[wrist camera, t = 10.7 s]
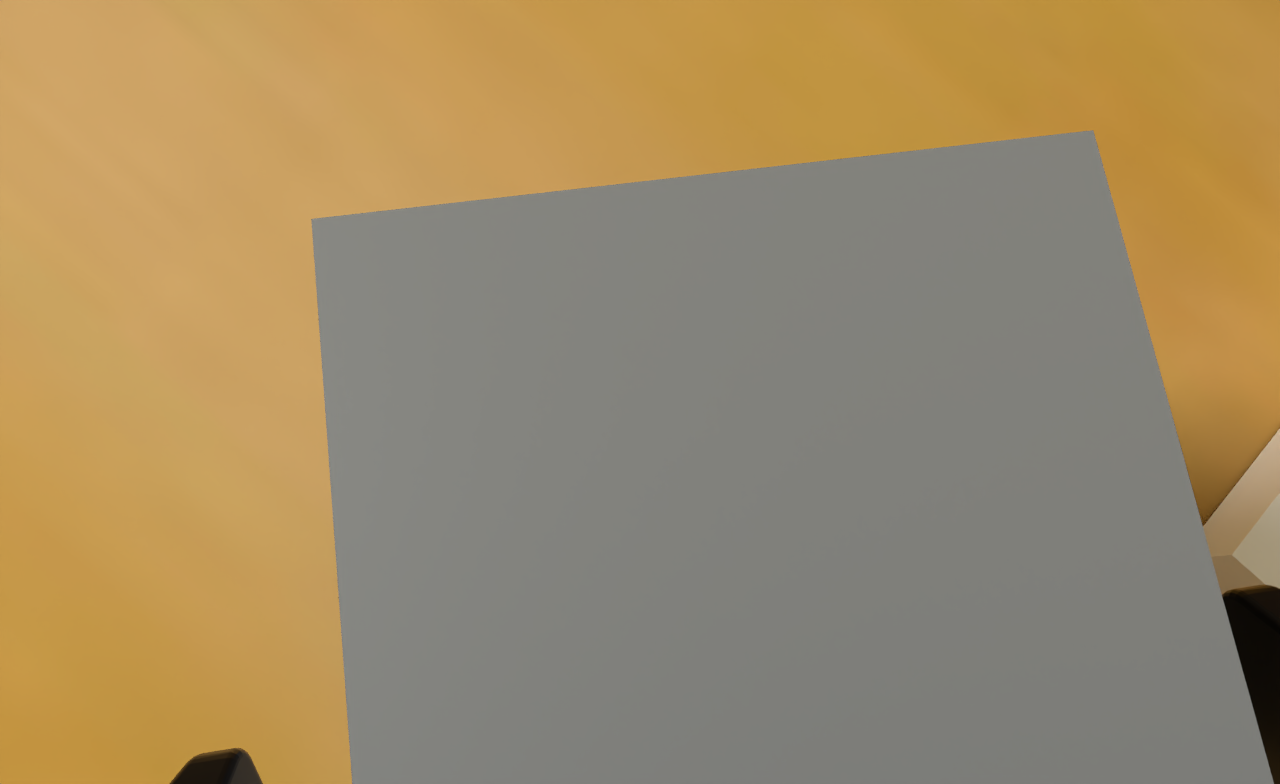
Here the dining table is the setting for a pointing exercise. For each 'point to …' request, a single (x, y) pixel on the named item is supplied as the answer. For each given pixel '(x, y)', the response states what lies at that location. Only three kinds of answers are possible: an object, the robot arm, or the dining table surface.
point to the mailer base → (1249, 526)
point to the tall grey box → (770, 486)
